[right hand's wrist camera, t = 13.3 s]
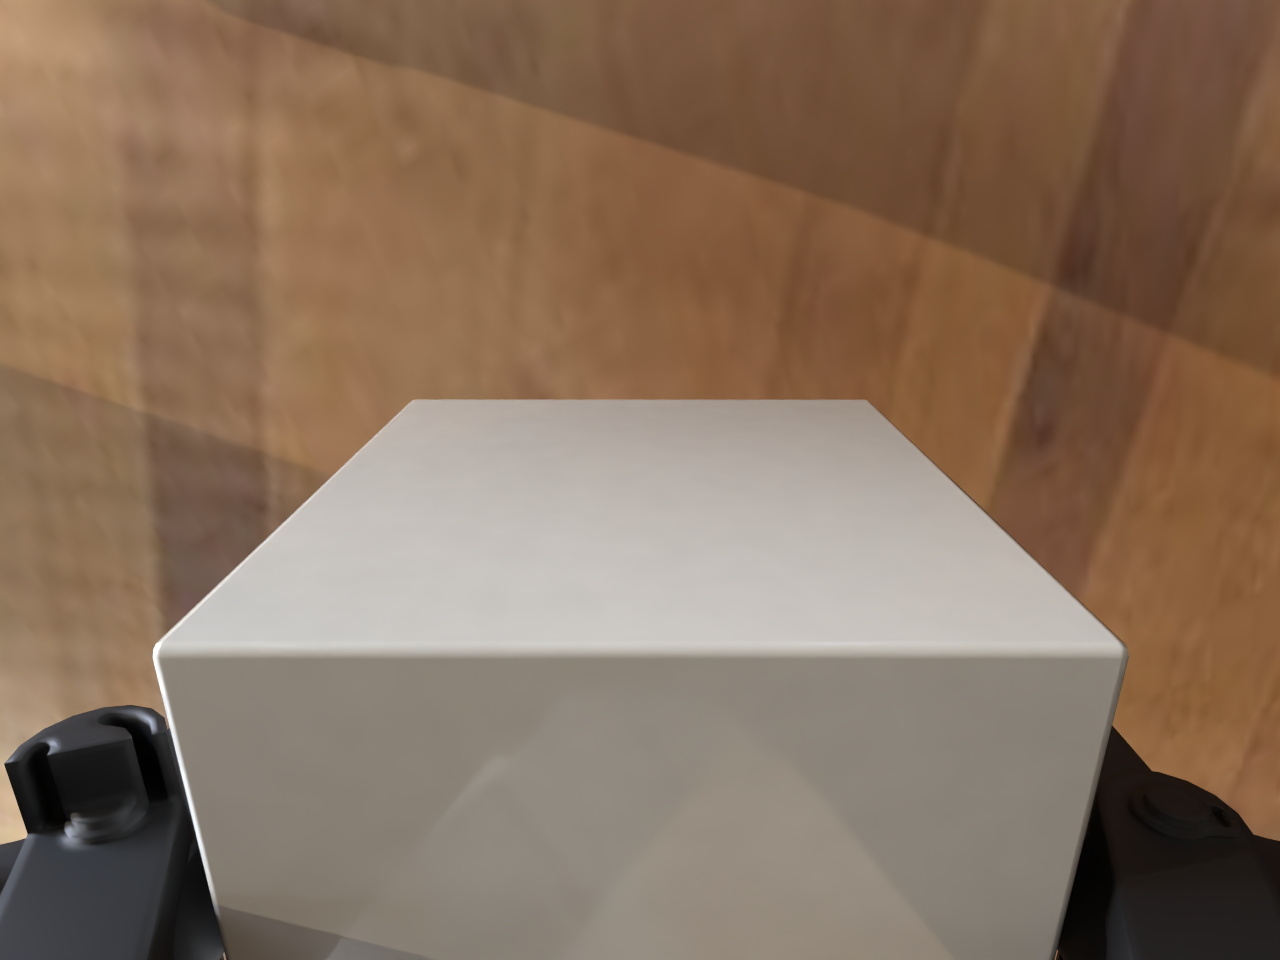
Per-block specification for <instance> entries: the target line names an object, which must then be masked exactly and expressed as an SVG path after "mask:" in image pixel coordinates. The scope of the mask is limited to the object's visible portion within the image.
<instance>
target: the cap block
mask: <svg viewBox="0 0 1280 960" xmlns="http://www.w3.org/2000/svg"><path fill="white" fill-rule="evenodd" d="M1128 658H1129V656H1128V649H1127V647H1126V644H1125V643H1124V642H1123V641H1122V640H1121V639H1120V638H1119V637H1118V636H1117V635H1116V634H1115V633H1113V632H1112V631H1111V630H1110V629H1109V628H1108V627H1107V626H1106V625H1105V624H1104V623H1103V622H1102V621H1101V620H1100V619H1099V618H1098V617H1097V616H1096V615H1094V614H1093V613H1092V612H1091V611H1090V610H1089V609H1088V608H1087V607H1086V606H1085V605H1084V604H1083V603H1082V602H1081V601H1080V600H1079V599H1078V598H1077V597H1075V596H1074V595H1073V594H1072V593H1071V592H1070V591H1069V590H1068V589H1067V588H1066V587H1065V586H1064V585H1063V584H1062V583H1061V582H1060V581H1059V580H1057V579H1056V578H1055V577H1054V576H1053V575H1052V574H1051V573H1050V572H1049V571H1048V570H1047V569H1046V568H1045V567H1044V566H1043V565H1042V564H1041V563H1040V562H1038V561H1037V560H1036V559H1035V558H1034V557H1033V556H1032V555H1031V554H1030V553H1029V552H1028V551H1027V550H1026V549H1025V548H1024V547H1023V546H1022V545H1021V544H1019V543H1018V542H1017V541H1016V540H1015V539H1014V538H1013V537H1012V536H1011V535H1010V534H1009V533H1008V532H1007V531H1006V530H1005V529H1004V528H1003V527H1002V526H1000V525H999V524H998V523H997V522H996V521H995V520H994V519H993V518H992V517H991V516H990V515H989V514H988V513H987V512H986V511H985V510H984V509H983V508H981V507H980V506H979V505H978V504H977V503H976V502H975V501H974V500H973V499H972V498H971V497H970V496H969V495H968V494H967V493H966V492H965V491H964V490H962V489H961V488H960V487H959V486H958V485H957V484H956V483H955V482H954V481H953V480H952V479H951V478H950V477H949V476H948V475H947V474H946V473H945V472H943V471H942V470H941V469H940V468H939V467H938V466H937V465H936V464H935V463H934V462H933V461H932V460H931V459H930V458H929V457H928V456H927V455H926V454H924V453H923V452H922V451H921V450H920V449H919V448H918V447H917V446H916V445H915V444H914V443H913V442H912V441H911V440H910V439H909V438H908V437H907V436H905V435H904V434H903V433H902V432H901V431H900V430H899V429H898V428H897V427H896V426H895V425H894V424H893V423H892V422H891V421H890V420H889V419H888V418H886V417H885V416H884V415H883V414H882V413H881V412H880V411H879V410H878V409H877V408H876V407H875V406H874V405H873V404H872V403H871V402H869V401H867V400H413V401H411V402H410V403H409V404H408V405H406V406H405V407H404V408H403V409H402V410H401V411H400V412H399V413H398V414H397V415H396V416H395V417H394V418H393V419H392V420H391V421H390V422H389V423H388V424H387V425H385V426H384V427H383V428H382V429H381V430H380V431H379V432H378V433H377V434H376V435H375V436H374V437H373V438H372V439H371V440H370V441H369V442H368V443H367V444H365V445H364V446H363V447H362V448H361V449H360V450H359V451H358V452H357V453H356V454H355V455H354V456H353V457H352V458H351V459H350V460H349V461H348V462H347V463H346V464H344V465H343V466H342V467H341V468H340V469H339V470H338V471H337V472H336V473H335V474H334V475H333V476H332V477H331V478H330V479H329V480H328V481H327V482H326V483H324V484H323V485H322V486H321V487H320V488H319V489H318V490H317V491H316V492H315V493H314V494H313V495H312V496H311V497H310V498H309V499H308V500H307V501H306V502H305V503H303V504H302V505H301V506H300V507H299V508H298V509H297V510H296V511H295V512H294V513H293V514H292V515H291V516H290V517H289V518H288V519H287V520H286V521H285V522H283V523H282V524H281V525H280V526H279V527H278V528H277V529H276V530H275V531H274V532H273V533H272V534H271V535H270V536H269V537H268V538H267V539H266V540H265V541H264V542H262V543H261V544H260V545H259V546H258V547H257V548H256V549H255V550H254V551H253V552H252V553H251V554H250V555H249V556H248V557H247V558H246V559H245V560H244V561H242V562H241V563H240V564H239V565H238V566H237V567H236V568H235V569H234V570H233V571H232V572H231V573H230V574H229V575H228V576H227V577H226V578H225V579H224V580H223V581H221V582H220V583H219V584H218V585H217V586H216V587H215V588H214V589H213V590H212V591H211V592H210V593H209V594H208V595H207V596H206V597H205V598H204V599H203V600H201V601H200V602H199V603H198V604H197V605H196V606H195V607H194V608H193V609H192V610H191V611H190V612H189V613H188V614H187V615H186V616H185V617H184V618H183V619H182V620H180V621H179V622H178V623H177V624H176V625H175V626H174V627H173V628H172V629H171V630H170V631H169V632H168V633H167V634H166V635H165V636H164V637H163V638H162V639H160V640H159V641H158V642H157V643H156V645H155V648H154V652H153V660H154V664H155V669H156V673H157V677H158V681H159V685H160V689H161V693H162V697H163V701H164V705H165V710H166V714H167V718H168V722H169V726H170V730H171V734H172V738H173V742H174V746H175V751H176V755H177V759H178V763H179V767H180V771H181V775H182V779H183V783H184V787H185V791H186V796H187V800H188V804H189V808H190V812H191V816H192V820H193V824H194V828H195V832H196V837H197V841H198V845H199V849H200V853H201V857H202V861H203V865H204V869H205V873H206V878H207V882H208V886H209V890H210V894H211V898H212V902H213V906H214V910H215V914H216V918H217V923H218V927H219V931H220V935H221V939H222V943H223V947H224V951H225V955H226V959H227V960H1054V959H1055V955H1056V951H1057V947H1058V943H1059V939H1060V935H1061V931H1062V927H1063V923H1064V919H1065V915H1066V910H1067V906H1068V902H1069V898H1070V894H1071V890H1072V886H1073V882H1074V878H1075V874H1076V870H1077V866H1078V862H1079V857H1080V853H1081V849H1082V845H1083V841H1084V837H1085V833H1086V829H1087V825H1088V821H1089V817H1090V813H1091V809H1092V805H1093V800H1094V796H1095V792H1096V788H1097V784H1098V780H1099V776H1100V772H1101V768H1102V764H1103V760H1104V756H1105V752H1106V747H1107V743H1108V739H1109V735H1110V731H1111V727H1112V723H1113V719H1114V715H1115V711H1116V707H1117V703H1118V699H1119V694H1120V690H1121V686H1122V682H1123V678H1124V674H1125V670H1126V666H1127V662H1128Z"/></svg>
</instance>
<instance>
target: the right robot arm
mask: <svg viewBox="0 0 1280 960" xmlns="http://www.w3.org/2000/svg"><path fill="white" fill-rule="evenodd" d="M4 765H5V768H6V771H7V774H8V777H9V780H10V782H11V785H12V788H13V791H14V794H15V797H16V800H17V803H18V806H19V809H20V812H21V815H22V818H23V821H24V824H25V827H26V830H27V833H28V835H27V837H26V839H22V840H19V841H15V842H11V843H6V844H2V845H0V960H224V957H223V953H224V947H223V943H222V939H221V935H220V931H219V927H218V923H217V918H216V914H215V910H214V906H213V902H212V898H211V894H210V890H209V886H208V882H207V878H206V873H205V869H204V865H203V861H202V857H201V853H200V849H199V845H198V841H197V837H196V832H195V828H194V824H193V820H192V816H191V812H190V808H189V804H188V800H187V796H186V791H185V787H184V783H183V779H182V775H181V771H180V767H179V763H178V759H177V755H176V751H175V746H174V742H173V738H172V734H171V730H170V728H169V729H168V730H167V726H166V722H165V718H164V717H163V716H161V715H160V714H159V713H157V712H156V711H155V710H153V709H152V708H146V707H140V706H134V705H126V706H115V707H104V708H100V709H97V710H93V711H89V712H86V713H82V714H78V715H75V716H72V717H70V718H68V719H65V720H63V721H61V722H59V723H56V724H54V725H52V726H50V727H48V728H45V729H43V730H42V731H41V732H39V733H38V734H36V735H35V736H33V737H32V738H30V739H29V740H27V741H26V742H25V743H23V744H22V745H20V746H19V747H18V748H17V750H16V751H15V752H14V753H13V754H12V755H11V757H10V758H9V759H8V760H7V761H6V762H5V764H4ZM1057 949H1058V953H1057V957H1056V960H1280V841H1277V840H1272V839H1267V838H1264V837H1260V836H1257V835H1253V833H1252V832H1251V830H1250V829H1249V828H1248V826H1247V825H1246V824H1245V822H1244V821H1243V819H1242V818H1241V817H1240V815H1239V814H1238V813H1237V812H1236V811H1234V810H1233V809H1232V808H1231V807H1229V806H1228V805H1227V804H1225V803H1224V802H1223V801H1222V800H1220V799H1219V798H1218V797H1217V796H1215V795H1213V794H1212V793H1210V792H1208V791H1206V790H1204V789H1202V788H1200V787H1198V786H1196V785H1194V784H1192V783H1190V782H1188V781H1186V780H1182V779H1179V778H1176V777H1173V776H1169V775H1166V774H1163V773H1160V772H1153V771H1151V769H1150V768H1149V767H1148V766H1147V765H1146V764H1145V763H1144V761H1143V760H1142V759H1141V758H1140V757H1139V756H1138V755H1137V753H1136V752H1135V751H1134V750H1133V749H1132V748H1131V746H1130V745H1129V744H1128V743H1127V742H1126V741H1125V740H1124V738H1123V737H1122V736H1121V735H1120V734H1119V733H1118V732H1117V730H1116V729H1115V728H1114V727H1113V726H1112V727H1111V731H1110V735H1109V739H1108V743H1107V747H1106V752H1105V756H1104V760H1103V764H1102V768H1101V772H1100V776H1099V780H1098V784H1097V788H1096V792H1095V796H1094V800H1093V805H1092V809H1091V813H1090V817H1089V821H1088V825H1087V829H1086V833H1085V837H1084V841H1083V845H1082V849H1081V853H1080V857H1079V862H1078V866H1077V870H1076V874H1075V878H1074V882H1073V886H1072V890H1071V894H1070V898H1069V902H1068V906H1067V910H1066V915H1065V919H1064V923H1063V927H1062V931H1061V935H1060V939H1059V943H1058V947H1057Z"/></svg>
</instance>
